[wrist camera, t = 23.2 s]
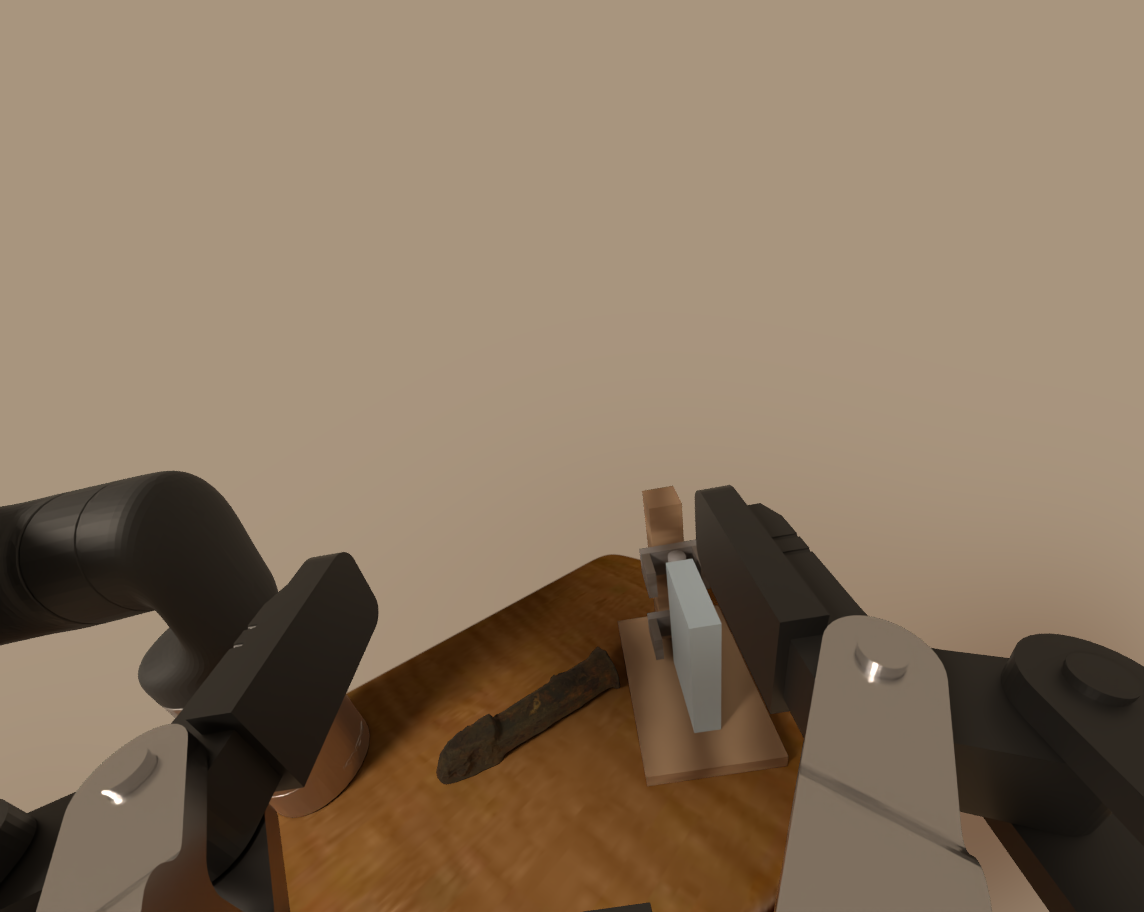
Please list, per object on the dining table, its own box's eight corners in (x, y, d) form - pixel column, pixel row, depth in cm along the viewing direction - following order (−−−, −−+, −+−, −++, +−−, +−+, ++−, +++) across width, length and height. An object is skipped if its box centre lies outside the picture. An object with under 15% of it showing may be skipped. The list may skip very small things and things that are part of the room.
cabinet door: (694, 733, 37) (689, 628, 30) (669, 648, 44) (661, 550, 38) (721, 729, 37) (721, 623, 30) (691, 645, 44) (687, 546, 38)
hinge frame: (647, 786, 35) (622, 636, 26) (619, 629, 49) (596, 497, 40) (787, 765, 35) (811, 605, 26) (718, 613, 49) (717, 476, 40)
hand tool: (605, 662, 46) (599, 634, 44) (623, 691, 43) (618, 663, 41) (440, 757, 40) (424, 731, 38) (447, 800, 37) (430, 774, 35)
